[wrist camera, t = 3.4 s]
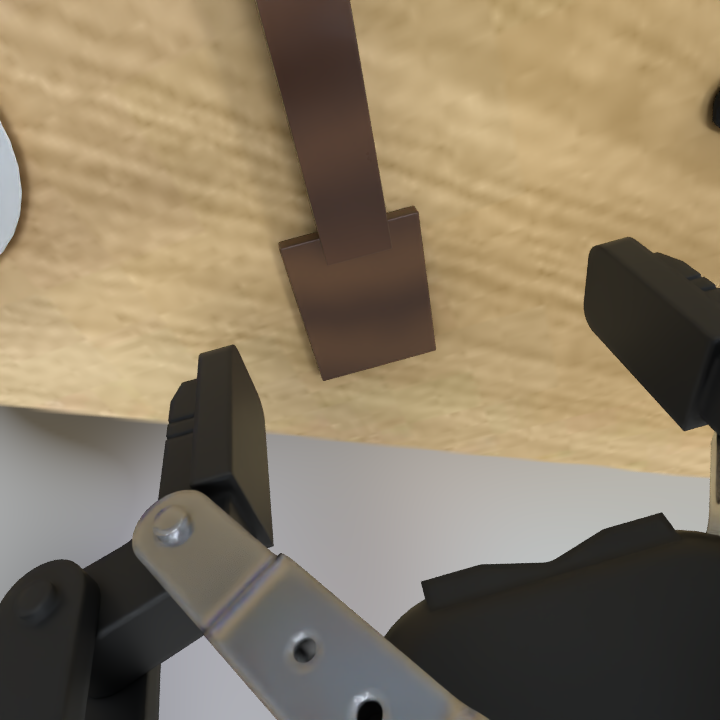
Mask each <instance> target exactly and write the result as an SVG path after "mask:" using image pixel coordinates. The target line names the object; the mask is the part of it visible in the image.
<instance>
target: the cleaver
mask: <svg viewBox="0 0 720 720" xmlns="http://www.w3.org/2000/svg"><path fill="white" fill-rule="evenodd" d="M712 121H713V122H714V124H715V125H716V126H718V127H719V128H720V91H719V93H718V94H717V95H716V97H715V101H714V105H713V119H712Z"/></svg>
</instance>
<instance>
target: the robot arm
mask: <svg viewBox="0 0 720 720" xmlns="http://www.w3.org/2000/svg"><path fill="white" fill-rule="evenodd" d="M584 313H585V317H586V320H587V323H588V325H589V327H590V328H591V330H592V331H593V332H594V333H595V334H596V335H597V336H598V337H599V339H600V340H601V341H602V342H603V343H604V344H605V345H606V346H607V347H608V348H609V350H610V351H611V352H612V353H613V354H614V355H615V356H616V357H617V358H618V359H619V360H620V362H621V363H622V364H623V365H624V366H625V367H626V368H627V369H628V370H629V371H630V373H631V374H632V375H633V376H634V377H635V378H636V379H637V380H638V381H639V382H640V384H641V385H642V386H643V387H644V388H645V389H646V390H647V391H648V392H649V393H650V394H651V396H652V397H653V398H654V399H655V400H656V401H657V402H658V403H659V404H660V405H661V407H662V408H663V409H664V410H665V411H666V412H667V413H668V414H669V415H670V416H671V417H672V419H673V420H674V421H675V422H676V423H677V424H678V425H679V426H680V427H681V428H682V430H683V431H687V430H690V429H694V428H698V427H701V426H705V425H709V426H710V427H711V428H712V429H713V430H714V431H715V432H714V435H713V438H712V441H711V464H710V502H709V521H708V527H707V532H706V533H703V532H698V531H685V530H675V529H674V528H673V527H672V525H671V524H670V523H669V521H668V520H667V519H666V517H665V516H664V514H663V513H658V514H655V515H651V516H648V517H644V518H641V519H637V520H634V521H630V522H627V523H623V524H620V525H616V526H613V527H609V528H606V529H603V530H601V531H600V532H598V533H596V534H595V535H593V536H592V537H590V538H589V539H587V540H585V541H584V542H582V543H581V544H579V545H577V546H576V547H574V548H572V549H571V550H569V551H568V552H566V553H564V554H563V555H561V556H560V557H558V558H556V559H555V560H553V561H550V562H546V563H516V564H482V565H478V566H474V567H470V568H467V569H463V570H460V571H457V572H453V573H450V574H446V575H442V576H439V577H435V578H432V579H429V580H425V581H422V582H421V584H422V588H423V592H424V596H425V600H423V601H421V602H420V603H418V604H417V605H415V606H414V607H412V608H411V609H410V610H409V611H408V612H407V613H405V614H404V615H403V616H401V618H400V619H399V620H398V621H397V622H396V623H395V624H394V625H393V626H392V627H391V629H390V630H389V631H388V632H387V634H386V635H385V637H383V636H382V635H381V634H380V633H379V632H377V631H376V630H375V629H374V628H373V627H372V626H370V625H369V624H368V623H367V622H366V621H364V620H363V619H362V618H361V617H360V616H358V615H357V614H356V613H355V612H354V611H353V610H351V609H350V608H349V607H348V606H347V605H346V604H344V603H343V602H342V601H341V600H339V599H338V598H337V597H336V596H335V595H334V594H333V593H331V592H330V591H329V590H328V589H327V588H325V587H324V586H323V585H322V584H321V583H320V582H318V581H317V580H316V579H315V578H313V577H312V576H311V575H310V574H309V573H308V572H307V571H305V570H304V569H303V568H302V567H301V566H299V565H298V564H297V563H295V562H294V561H293V560H292V559H291V558H289V557H288V556H286V555H284V554H282V553H280V554H279V555H278V556H277V555H275V554H274V553H272V552H271V551H270V550H269V549H268V548H269V547H272V546H274V544H273V530H272V517H271V504H270V503H271V502H270V488H269V474H268V460H267V446H266V432H265V419H264V413H263V409H262V405H261V401H260V398H259V396H258V393H257V391H256V389H255V387H254V384H253V382H252V380H251V378H250V376H249V373H248V371H247V369H246V367H245V364H244V362H243V360H242V358H241V356H240V353H239V351H238V349H237V348H236V346H235V345H230V346H226V347H222V348H219V349H215V350H212V351H208V352H204V353H201V354H200V355H199V360H198V373H197V379H194V380H190V381H186V382H183V383H182V384H181V386H180V387H179V389H178V391H177V392H176V394H175V395H174V397H173V399H172V400H171V403H170V411H169V419H168V421H169V424H168V427H167V435H166V437H167V440H166V442H165V450H164V458H163V466H162V475H161V482H160V490H159V498H158V501H157V502H155V503H154V504H153V505H152V506H151V507H150V508H149V509H147V510H146V512H145V513H144V514H143V515H142V517H141V518H140V520H139V521H138V523H137V525H136V527H135V530H134V533H133V538H132V539H131V540H130V541H129V542H128V543H126V544H125V545H123V546H122V547H120V548H118V549H117V550H115V551H113V552H111V553H110V554H108V555H107V556H104V557H103V558H101V559H99V560H98V561H96V562H94V563H92V564H91V565H89V566H87V567H86V568H84V569H82V568H81V567H80V566H79V565H77V564H76V563H74V562H73V561H70V560H63V559H61V560H54V561H50V562H47V563H44V564H42V565H40V566H38V567H36V568H34V569H33V570H31V571H30V572H28V573H27V574H25V575H24V576H23V577H22V578H21V579H19V580H18V581H17V582H16V583H15V584H14V586H13V587H12V588H11V589H10V590H9V591H8V593H7V594H6V595H5V597H4V598H3V600H2V601H1V603H0V720H158V719H159V694H160V669H161V663H162V662H164V661H165V660H167V659H168V658H170V657H171V656H173V655H174V654H176V653H178V652H179V651H181V650H182V649H184V648H185V647H187V646H188V645H189V644H191V643H193V642H194V641H196V640H197V639H199V638H200V637H202V636H203V635H204V636H205V637H206V638H207V640H208V641H209V642H210V643H211V644H212V645H213V646H214V648H215V649H216V650H217V651H218V652H219V654H220V655H221V656H222V657H223V658H224V659H225V660H226V662H227V663H228V664H229V665H230V666H231V667H232V669H233V670H234V671H235V672H236V673H237V674H238V675H239V677H240V678H241V679H242V680H243V681H244V682H245V684H246V685H247V686H248V687H249V688H250V689H251V690H252V692H253V693H254V694H255V695H256V696H257V697H258V699H259V700H260V701H261V702H262V703H263V704H264V705H265V706H266V707H267V709H268V710H269V711H270V712H271V713H272V715H273V716H274V717H275V718H276V719H277V720H720V288H716V286H715V284H714V283H712V282H711V281H709V280H708V279H707V278H705V277H701V274H700V273H698V272H697V271H696V270H694V269H693V268H691V267H690V266H689V265H687V264H686V263H685V262H683V261H681V260H678V259H675V258H672V257H670V256H667V255H664V254H661V253H658V252H657V253H652V252H651V251H650V250H648V249H647V248H646V247H644V246H643V245H642V244H640V243H639V242H638V241H636V240H635V239H633V238H631V237H626V238H622V239H618V240H615V241H611V242H608V243H604V244H600V245H597V246H594V247H592V249H591V250H590V253H589V257H588V267H587V276H586V286H585V296H584Z"/></svg>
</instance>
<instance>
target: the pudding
mask: <svg viewBox="0 0 720 720" xmlns="http://www.w3.org/2000/svg"><path fill="white" fill-rule="evenodd" d="M21 196H22V190H21V182H20V175H19V167H18V164H17V161H16V158H15V155H14V152H13V149H12V145H11V142H10V140H9V138H8V136H7V134H6V132H5V130H4V128H3V126H2V124H1V122H0V254H1V253H2V252H3V251H4V249H5V248H6V246H7V244H8V243H9V241H10V240H11V238H12V236H13V235H14V232H15V229H16V226H17V223H18V219H19V216H20V208H21Z"/></svg>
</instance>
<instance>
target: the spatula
mask: <svg viewBox="0 0 720 720" xmlns="http://www.w3.org/2000/svg"><path fill="white" fill-rule="evenodd" d="M255 3H256V7H257V10H258V14H259V18H260V21H261V25H262V29H263V32H264V36H265V40H266V44H267V47H268V51H269V55H270V58H271V62H272V66H273V69H274V73H275V77H276V81H277V84H278V88H279V92H280V95H281V99H282V103H283V107H284V110H285V114H286V118H287V121H288V125H289V129H290V132H291V136H292V140H293V144H294V147H295V151H296V155H297V158H298V162H299V166H300V169H301V173H302V177H303V181H304V184H305V188H306V192H307V195H308V199H309V203H310V206H311V210H312V214H313V218H314V221H315V225H316V229H317V232H315V233H311V234H308V235H304V236H300V237H297V238H293V239H289V240H285V241H282V242H279V249H280V253H281V256H282V259H283V262H284V265H285V268H286V271H287V274H288V277H289V280H290V283H291V286H292V289H293V292H294V295H295V298H296V301H297V304H298V307H299V310H300V313H301V316H302V319H303V322H304V325H305V328H306V332H307V335H308V338H309V341H310V344H311V347H312V350H313V353H314V356H315V359H316V362H317V365H318V368H319V371H320V374H321V377H322V380H323V381H326V380H329V379H333V378H337V377H340V376H344V375H348V374H351V373H355V372H359V371H362V370H366V369H369V368H373V367H377V366H380V365H384V364H388V363H391V362H395V361H399V360H402V359H406V358H409V357H413V356H417V355H420V354H424V353H428V352H431V351H435V350H436V345H435V338H434V330H433V322H432V314H431V306H430V298H429V291H428V283H427V275H426V267H425V259H424V251H423V244H422V236H421V228H420V220H419V212H418V211H417V209H416V208H415V206H412V207H408V208H404V209H401V210H397V211H393V212H389V213H386V209H385V203H384V197H383V191H382V185H381V180H380V174H379V168H378V162H377V156H376V150H375V144H374V139H373V133H372V127H371V121H370V115H369V109H368V104H367V98H366V92H365V86H364V80H363V74H362V69H361V63H360V57H359V51H358V45H357V39H356V33H355V28H354V22H353V16H352V10H351V4H350V0H255Z"/></svg>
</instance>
